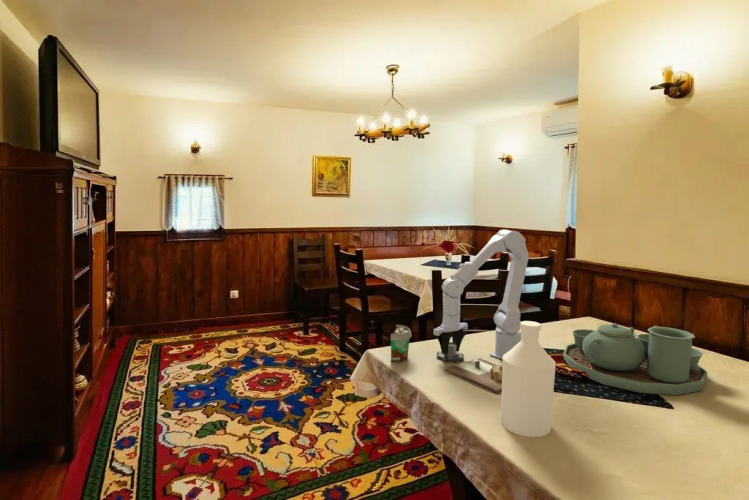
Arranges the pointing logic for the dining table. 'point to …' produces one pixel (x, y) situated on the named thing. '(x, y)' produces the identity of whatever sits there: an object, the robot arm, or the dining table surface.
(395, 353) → the food container
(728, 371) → the dining table surface
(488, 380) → the carrier board
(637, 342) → the tea set
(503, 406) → the bottle
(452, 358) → the planet gear
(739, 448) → the dining table surface
